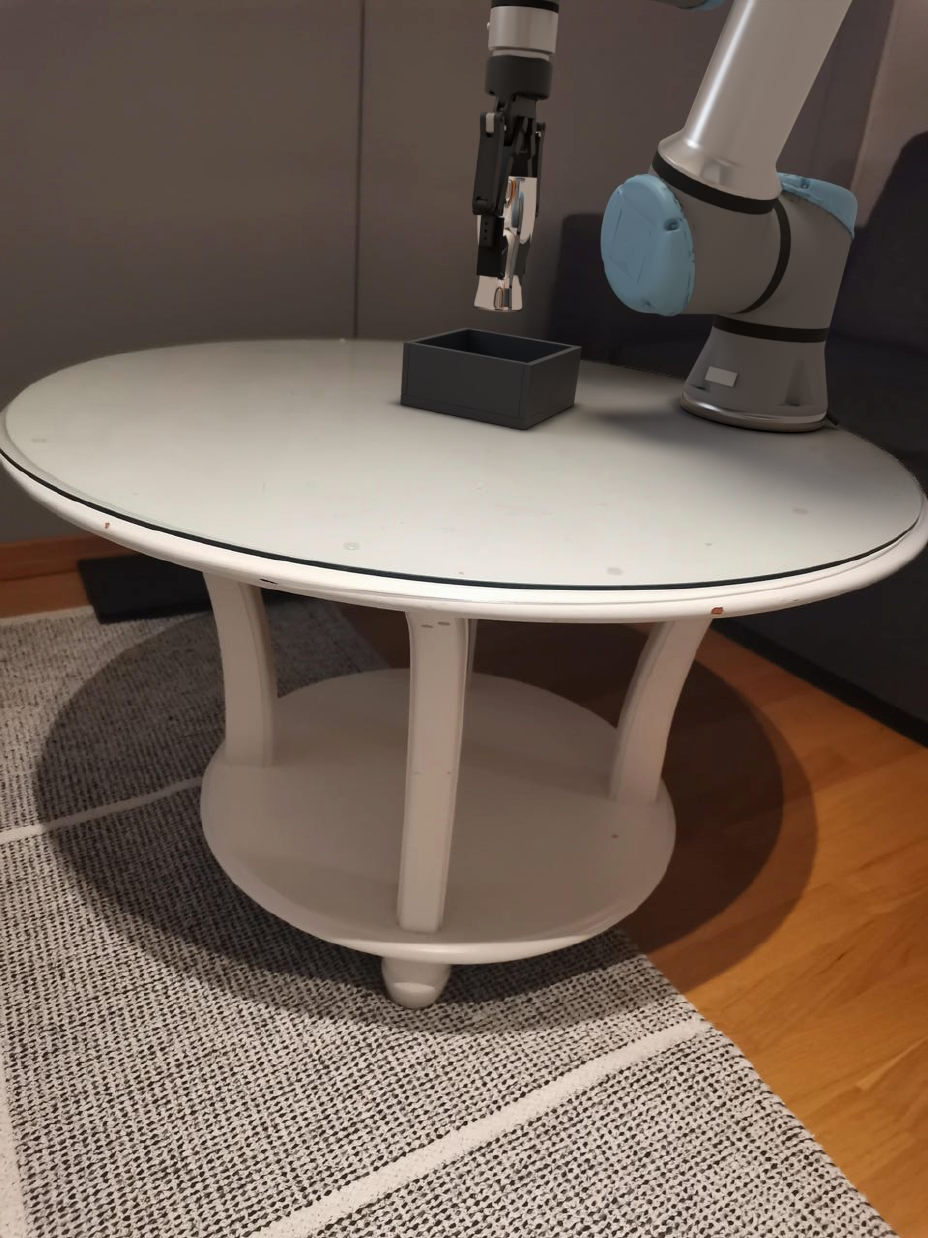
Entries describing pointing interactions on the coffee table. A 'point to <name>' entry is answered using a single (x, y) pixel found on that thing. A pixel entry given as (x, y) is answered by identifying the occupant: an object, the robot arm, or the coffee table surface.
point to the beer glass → (510, 248)
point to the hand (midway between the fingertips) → (501, 274)
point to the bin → (490, 376)
